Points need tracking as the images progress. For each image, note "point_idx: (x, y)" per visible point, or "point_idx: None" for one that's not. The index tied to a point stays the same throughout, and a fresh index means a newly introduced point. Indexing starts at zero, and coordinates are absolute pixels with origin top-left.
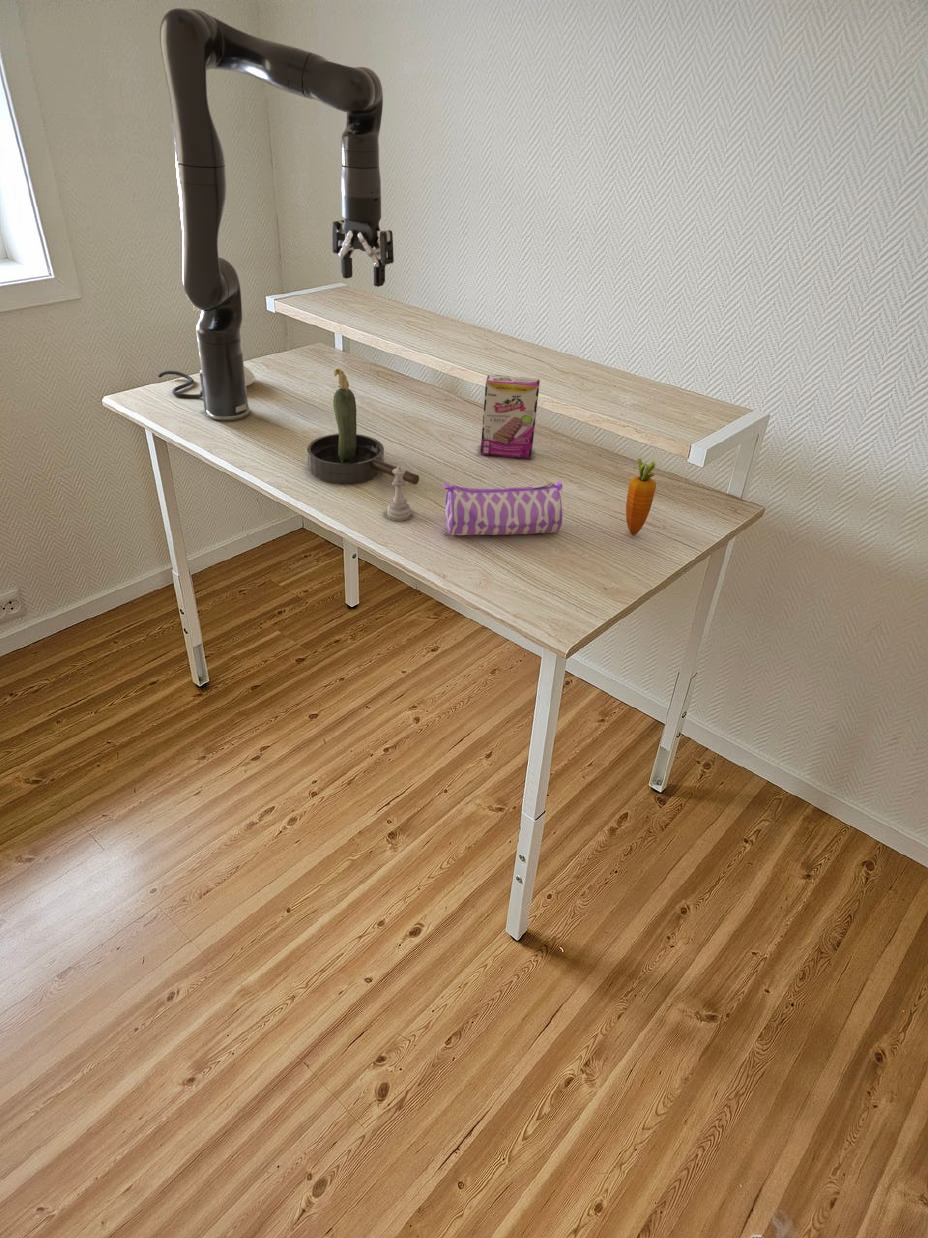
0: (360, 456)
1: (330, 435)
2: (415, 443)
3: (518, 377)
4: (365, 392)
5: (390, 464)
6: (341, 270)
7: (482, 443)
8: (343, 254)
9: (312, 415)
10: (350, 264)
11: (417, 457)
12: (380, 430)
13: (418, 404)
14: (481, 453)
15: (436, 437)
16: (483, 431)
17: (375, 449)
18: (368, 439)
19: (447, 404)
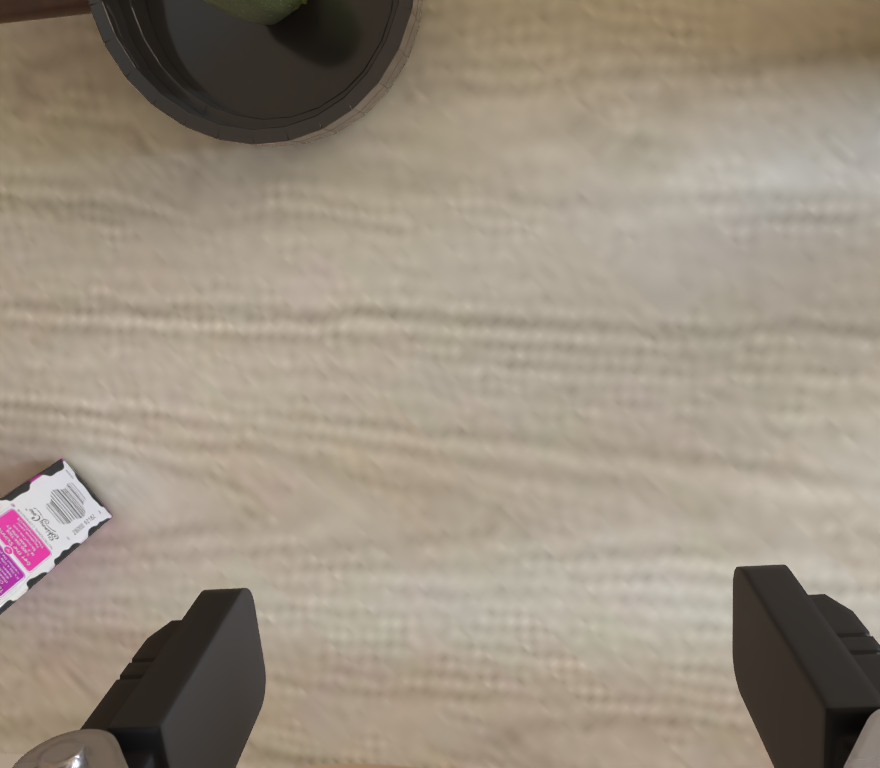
0: (305, 96)
1: (402, 13)
2: (286, 364)
3: None
4: (801, 584)
5: (7, 4)
6: (852, 617)
7: (36, 475)
8: (871, 755)
9: (786, 254)
10: (784, 757)
11: (186, 278)
12: (467, 354)
13: (554, 638)
14: (59, 460)
15: (278, 460)
16: (7, 494)
17: (239, 126)
18: (275, 127)
19: (478, 709)
